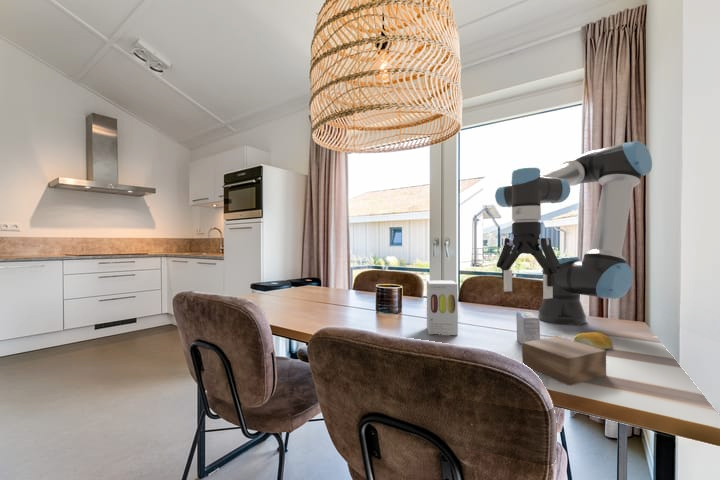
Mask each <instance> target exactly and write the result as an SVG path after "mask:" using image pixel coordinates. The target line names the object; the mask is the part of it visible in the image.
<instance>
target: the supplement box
mask: <svg viewBox="0 0 720 480" xmlns="http://www.w3.org/2000/svg"><path fill="white" fill-rule="evenodd" d="M458 305H459V304H458V283H457V282H455V281H454V280H443V279H442V280H440V279H439V280H432V279H431V280H430V279H427V280H426V329H427V333H428V335H429V334H439V335H438V336H450V335H459V329H458V328H459V327H458V325H459V324H458V322H459V321H458V315H459V313H458ZM440 334H441V335H440Z"/></svg>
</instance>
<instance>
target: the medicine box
mask: <svg viewBox="0 0 720 480" xmlns="http://www.w3.org/2000/svg"><path fill="white" fill-rule="evenodd" d="M540 321H541V319H539V318H538V316H537V315H535V314H534V313H533V312H530V311H518V312H517V311H516V340H517V341H518V342H519V344H520V345H522V342H528V341H533V340H539V339H541V326H540V325H541V323H540Z"/></svg>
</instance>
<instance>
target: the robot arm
mask: <svg viewBox="0 0 720 480" xmlns="http://www.w3.org/2000/svg"><path fill="white" fill-rule="evenodd" d="M652 159H653V158H652V155H651V153H650V150H649V149H648V147H647V145H646V144H645V143H643V142H641V141H637V140H636V141H629V142H623V143H621V144H618V145H613V146H607V147H604V148H600V149H594V150H591V151H587V152H586V153H583V154H581V155H578V156H576V157H574V158H571V159H569V160H567V161H564V162H563V163H562V164H561V165H560V166H558V167H554V168H552V169H550V170H547V171H544V172H541V169H540V168H539V167H537V166H527V167H526V166H525V167H524V166H523V167H520V168H516V169H514V170H513V171H512V173H511V183H510V184H505V185H501V186H499V187H498V188H497V189H496V190H495V195H494V198H495V203H497V205H498V206H500V207H502V208H511V220H512V221H513V223H511V234H512V235H513V237H509V238H504V240H503V241H504V244H503V247H502V249H501V252H500V255H499V257H498V260H497V263H496V267H497V268H499V269H500V270H501V275H502V276H501V279H502V281H503V292H505V293H506V292H507V293H508V292H513V270H512V269H511V267H512V266H513V265H514V263H515V262H516V261H517V259H518V258H519V257H520V255H521V254H522V255H523V254H526V255H527V254H528V255H531V256H533V257H534V259H535V261H536V262H537V263H538V264H539V266H540V267H541V271H542V290H543V291H542V292H543V293H542V295H543V296H542V301H541V303H540V306H539V310H538V314H537V315H538V316H537V317H538V318H539V319H540V321H543V322H547V323H550V324H551V323H552V324H558V325H566V326H567V325H569V326H570V325H571V326H573V325H575V326H577V325H584V324H586V323H587V316H586V313H585V311H584V310H585V309H584V308H583V305H582V302H581V297H580V296H588V297H595V298H600V299H609V300H610V299H612V300H616V299H620V298H622V297H624V296H625V295H627V293H628V292H629V291H630V288H631V286H632V283H633V278H634V277H633V276H634V275H633V270H632V268H631V267H630V265H629V264H627V259H626V258H625V257H624V256H623V255H622V253H623V249H624V243H625V242H624V241H625V237H626V232H627V227H628V226H627V225H628V221H629V214H630V210H631V203H632V197H633V193H634V188H635V187H636V186H638V185H639V184H640V183H641V181H642V180H641V179H642V177H643V176H646V175H649V173H650V172H652V168H653V161H652ZM596 182H598V184H599V185H601V192H600V196H599V197H600V198H599V204H598V209H597V213H596V218H595V224H594V229H593V234H592V238H591V239H592V240H591V246H590V250H589V251H587V252H586V253H584V254H583V259H582V260H581V259H580V257H579V256H572V257H571V256H569V257H557V255H556V253H555V251H554V249H553V246H552V240H551V238H550V237H541V238H540V236H541V233H542V230H541V229H542V228H541V227H542V225H541V222H540V220H541V219H542V215H541V213H542V211H541V210H542V208H541V207H542V206H541V204H547V203H551V204H556V203H557V204H558V203H562V202H565V201H566V200H567V199H568V198H569V196H570V194H571V187H572V186H577V185H579V184H586V183H596ZM540 246H541V247H540Z"/></svg>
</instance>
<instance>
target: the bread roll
mask: <svg viewBox="0 0 720 480" xmlns="http://www.w3.org/2000/svg"><path fill="white" fill-rule="evenodd" d="M573 341H575V342H579V343H582V344H586V345H589V346H593V347H596V348H599V349H603V350H607V349H611V348H612V347H613V342H612V339H611V338H610V337H609V336H607V335H605V334H604V333H602V332H597V331H593V332H590V331H589V332H582V333H577V334H576V335H575V336H574V338H573Z"/></svg>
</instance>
